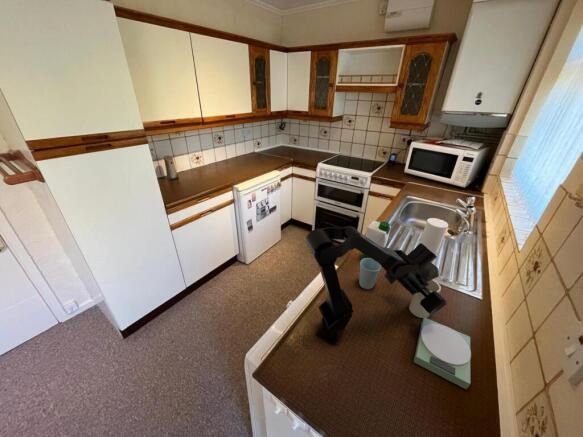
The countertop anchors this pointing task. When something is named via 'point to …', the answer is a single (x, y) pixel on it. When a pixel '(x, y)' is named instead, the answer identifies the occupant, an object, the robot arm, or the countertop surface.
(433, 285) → the beaker
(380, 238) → the milk carton
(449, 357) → the kitchen scale
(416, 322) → the countertop surface
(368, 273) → the cup
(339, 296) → the robot arm
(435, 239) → the cylindrical container
